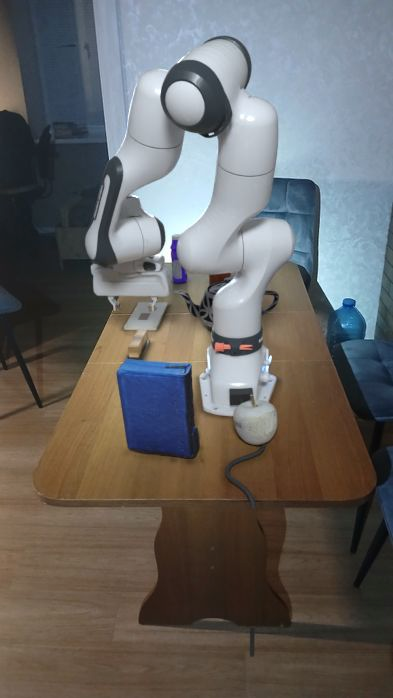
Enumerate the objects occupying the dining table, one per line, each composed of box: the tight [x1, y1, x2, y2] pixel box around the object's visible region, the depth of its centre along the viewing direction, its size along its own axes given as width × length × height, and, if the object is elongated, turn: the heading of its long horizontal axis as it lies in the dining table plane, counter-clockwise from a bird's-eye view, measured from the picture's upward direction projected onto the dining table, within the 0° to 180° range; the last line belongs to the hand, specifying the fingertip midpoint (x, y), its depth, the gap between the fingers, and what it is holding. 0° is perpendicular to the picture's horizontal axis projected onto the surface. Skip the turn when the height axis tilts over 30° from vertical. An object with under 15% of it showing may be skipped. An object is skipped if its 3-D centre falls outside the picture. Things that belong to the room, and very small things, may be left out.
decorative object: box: [232, 395, 279, 446], centre depth 100 cm, size 9×9×10 cm
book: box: [115, 358, 200, 459], centre depth 95 cm, size 14×5×20 cm, turn 76°
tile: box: [123, 301, 169, 331], centre depth 160 cm, size 20×10×1 cm, turn 172°
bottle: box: [169, 233, 188, 284], centre depth 186 cm, size 7×6×17 cm
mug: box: [208, 273, 232, 286], centre depth 173 cm, size 12×9×10 cm
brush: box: [126, 330, 151, 361], centre depth 138 cm, size 11×4×4 cm, turn 172°
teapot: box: [173, 276, 280, 331], centre depth 148 cm, size 19×31×15 cm, turn 91°
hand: (134, 310), depth 134 cm, fingers open, 8 cm apart
